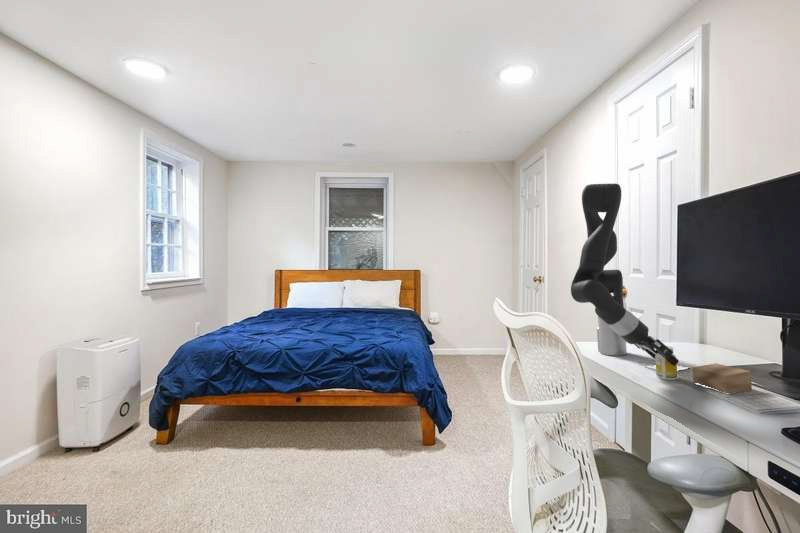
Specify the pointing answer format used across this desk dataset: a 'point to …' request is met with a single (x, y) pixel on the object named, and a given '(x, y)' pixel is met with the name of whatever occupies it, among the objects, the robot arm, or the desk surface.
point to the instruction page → (650, 367)
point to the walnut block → (723, 378)
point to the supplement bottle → (665, 368)
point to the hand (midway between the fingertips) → (666, 359)
